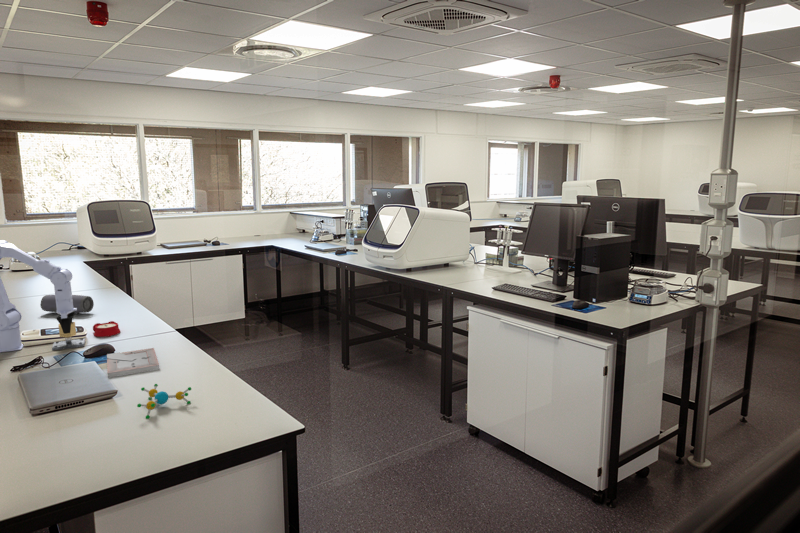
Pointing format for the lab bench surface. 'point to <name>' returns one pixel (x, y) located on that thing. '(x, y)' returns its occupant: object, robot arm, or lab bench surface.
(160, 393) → the molecular model
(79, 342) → the block
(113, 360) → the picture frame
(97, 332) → the alarm clock
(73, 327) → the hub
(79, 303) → the bluetooth speaker
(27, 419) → the lab bench surface
